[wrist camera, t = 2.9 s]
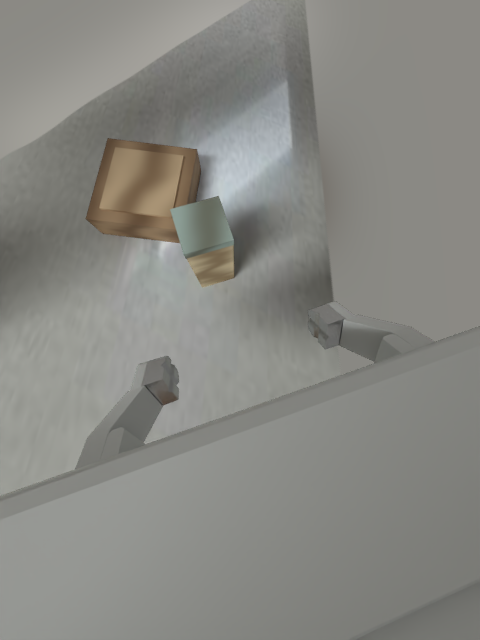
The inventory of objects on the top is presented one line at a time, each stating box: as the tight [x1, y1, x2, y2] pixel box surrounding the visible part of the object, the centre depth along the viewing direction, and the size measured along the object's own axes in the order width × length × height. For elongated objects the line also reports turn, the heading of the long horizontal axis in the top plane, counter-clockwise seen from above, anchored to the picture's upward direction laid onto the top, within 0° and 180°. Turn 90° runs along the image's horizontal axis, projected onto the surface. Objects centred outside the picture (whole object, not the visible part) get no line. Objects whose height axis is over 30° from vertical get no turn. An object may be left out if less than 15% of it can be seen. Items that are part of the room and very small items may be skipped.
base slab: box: [86, 138, 201, 243], centre depth 26 cm, size 12×12×3 cm
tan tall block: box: [170, 196, 234, 288], centre depth 21 cm, size 5×5×9 cm
